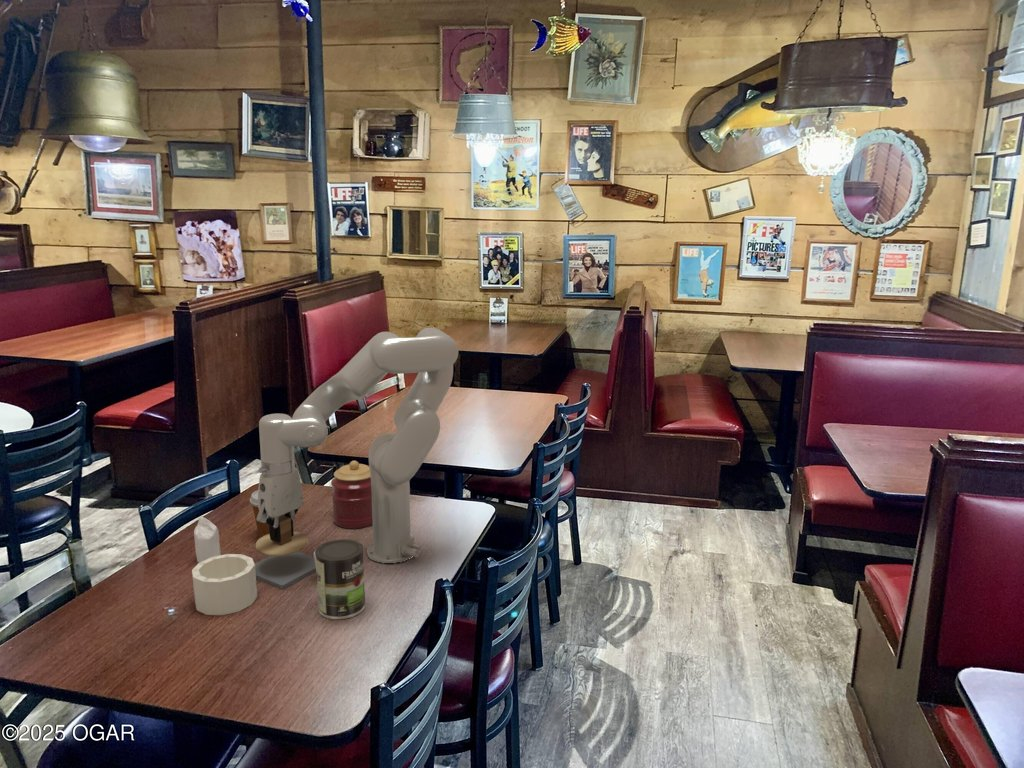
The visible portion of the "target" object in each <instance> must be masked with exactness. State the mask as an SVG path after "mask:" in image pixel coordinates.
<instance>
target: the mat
mask: <svg viewBox="0 0 1024 768" xmlns="http://www.w3.org/2000/svg"><path fill="white" fill-rule="evenodd" d="M254 564H255V573H256V580H258V581H260V582H262V583H265V584H268V585H271V586H273V587H275V588H277V589H281V590H285V589H287V588H288V587H290V586H292V585H294V584H296V583H298V582H299V581H301V580H303V579H305V578H308V577H309V576H311V575H312V574H314V573H317V572H316V566H315V560H314V556H312V555H309V554H306V553H303V552H301V551H299V552H296V553H293V554H289V555H284V556H268V557H266V558H265V557H264V559H262V560H259V561H258V562H254Z"/></svg>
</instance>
